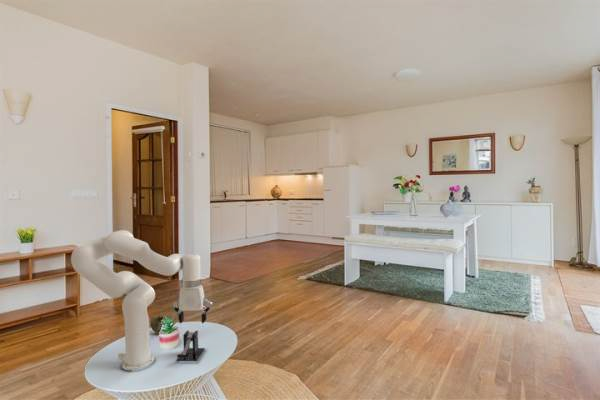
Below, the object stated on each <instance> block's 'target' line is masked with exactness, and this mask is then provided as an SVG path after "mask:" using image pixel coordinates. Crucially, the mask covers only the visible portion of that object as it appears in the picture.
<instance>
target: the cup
mask: <svg viewBox="0 0 600 400" xmlns="http://www.w3.org/2000/svg"><path fill="white" fill-rule="evenodd" d="M165 317H166V316H162V315H161V316H160V315H157V316H154V317H152V318H151V319H150V318H149V323H150V328H151V330H152V331H153V333H154V334H155V335H157V336H158V335H160V334H159V332H160V330H161V327H162V324H161V320H162V319H163V318H165Z"/></svg>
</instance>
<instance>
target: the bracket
mask: <svg viewBox="0 0 600 400" xmlns="http://www.w3.org/2000/svg"><path fill="white" fill-rule="evenodd" d="M189 332H190V330H186V331H185V332H184V334H183V337H182V338H183V350H184V349H185V346H186V344H187V341H188V339H187V336H188V333H189ZM191 342H192V347H190V344H189V347H188V350H187V352H186V354H189V355H190V357H189V358H176V362H198V361H199V359H200V357H201V356H202V355H203V353H204V351H205V350H206V348H205V347H199V330H195V331H194V333H193V335H192V341H191ZM181 354H183V352H181Z"/></svg>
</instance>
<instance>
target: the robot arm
mask: <svg viewBox="0 0 600 400" xmlns="http://www.w3.org/2000/svg"><path fill="white" fill-rule="evenodd" d="M112 254H117V255H120V256H123V257H125V258H128V259H131V260H132V261H135V262H138V264H140V265H141V266H142V267H144V268H145V269H147V270H149V271H151V272H153V273H156V274H159V275H161V276H165V277H167V276H168V277H169V276H170V277H171V276H174V275H175V274H177V273H178V272H180V271H182V280H179V285H182V286H181V287H180V290H179V298H178V300H175V301H174V302H173V303H172V304H171V305H172V307H173V310H174V311H175V312H176V313H177V315H178V321H179V324H182V323H183V322H184V321H185V318H184V317H185V316H184V315H185V314H184V312H198V311H200V312H201V324H204V323H205V322H206V321H207V313H208V311H210V309H211V307H212V305H213V302H212V301H210V300H208V299H206V298H205V291H204V287H203V285H202V269H201V265H202V264H201V263H202V262H201V256H200V255H199V254H196V253H195V254H194V253H190V254H183V253H171V254H170V255H168V256H164V255H162V254H159V253H158V252H155V251H154V250H152V249H151V247H150V245H149V243H148V242H146V241H143V240H142V239H138V238H137V237H136V238H135V237H134V235H133V233H132V232H130V231H129V230H126V229H119V230H116V231H112V232H110V233H108V234H107V235H106V236H103V237H100V238H97V239H94V240H90V241H86V242H83V243H81V244H79V245H77V246H76V247H75V248H74V249H73V250H72V253H71V257H70V262H71V266H72V268H73V270H74V271H75V272H76V274H78V275H79V276H80V277H82V278H84V279H85V280H87V281H88V282H90V283H91V284H92V285H93V286H95V287H96V288H97V289H99V290H100V291H102V292H103V293H104V294H106V295H107V296H108V297H110V298H113V299H118V298H120V297H122V296H124V295H126V296H125V297H124V299H123V300H122V303H121V309H122V315H123V320H124V321H123V322H124V341H125V343H124V344H125V345H124V346H125V352H118V354H117V361H122V363H121V367H122V369H123V370H124V371H133V370H137V369H141V368H144V367H147V366H148V365H150V364H152V363H153V362H154V361H155V356H154V355H153V354H151V336H150V335H151V334H150V333H151V331H150V317H149V313H148V307H150V305H151V304H152V303H153V302H154V301H155V298H156V292H155V290H154V288H153V287H152V286H151V285H150V284H149V283H148V282H146V281H145V280H144V279H142V278H141V277H140V276H139V275H137V274H136V273H133V271H129V270H122V271H118V272H115V271H114V270H113V269H111V268H110V267H109V266H107V265H105V264H104V263H101V262H99V261H98V260H100V259H103V258H105V257H107V256H109V255H112ZM205 305H207V306H206V307H205Z"/></svg>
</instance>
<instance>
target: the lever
mask: <svg viewBox="0 0 600 400" xmlns="http://www.w3.org/2000/svg"><path fill="white" fill-rule="evenodd" d="M194 332H195V331H194ZM194 332H193V331H191V332H190V331H189V333H188V336H187V339H188V341H187V344H186V346H185V349H184V348H183V351H182V353H183V354H182V353H181V354H179V353H178V354H177V355H176V359H178V358H189V357H190V355H189V354H186V352H187V350H188V347H189V345H190V344H191V342H193V341H192V335H193V333H194Z"/></svg>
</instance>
